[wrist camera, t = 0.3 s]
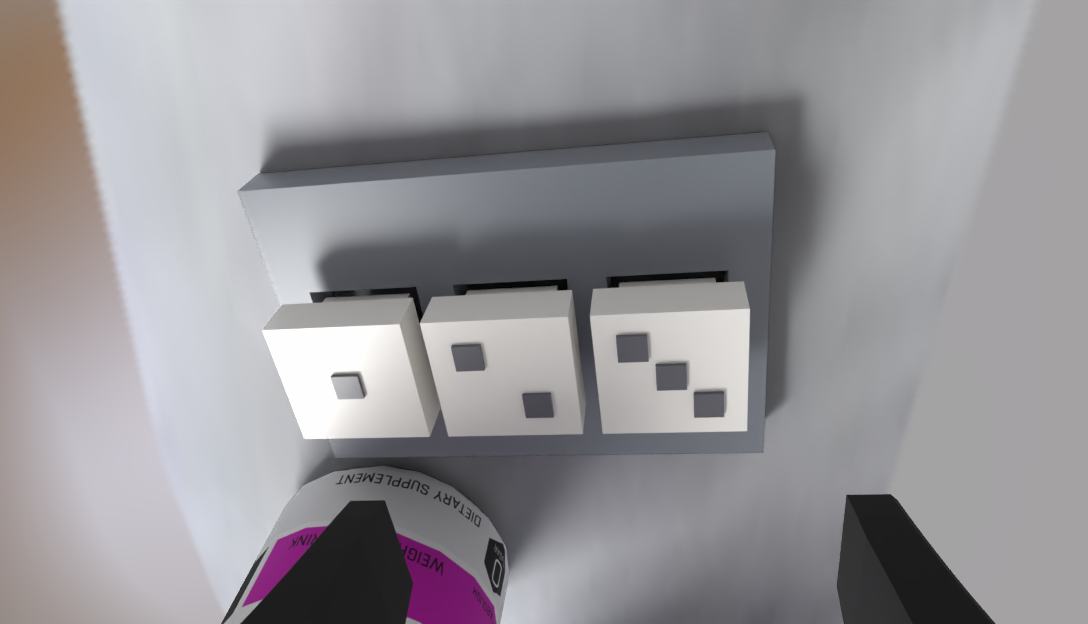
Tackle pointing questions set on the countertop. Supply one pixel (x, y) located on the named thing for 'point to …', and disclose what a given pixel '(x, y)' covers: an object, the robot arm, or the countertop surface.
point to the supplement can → (424, 535)
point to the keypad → (531, 251)
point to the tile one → (355, 367)
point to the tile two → (506, 361)
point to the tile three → (672, 356)
